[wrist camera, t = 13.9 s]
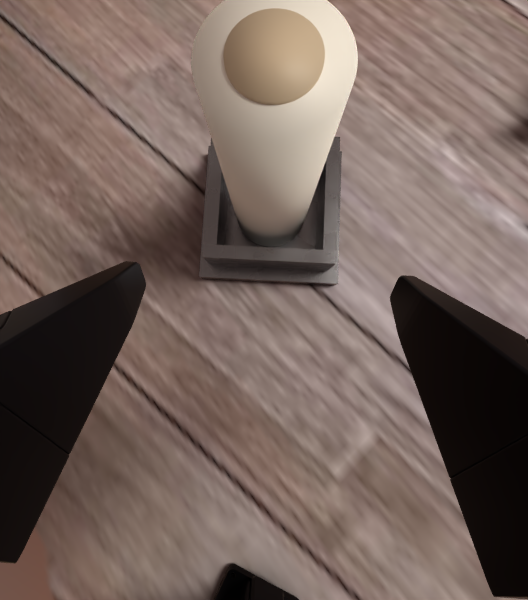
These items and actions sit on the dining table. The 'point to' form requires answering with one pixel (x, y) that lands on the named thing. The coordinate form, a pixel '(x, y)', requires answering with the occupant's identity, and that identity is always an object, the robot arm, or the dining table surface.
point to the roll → (273, 104)
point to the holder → (279, 259)
